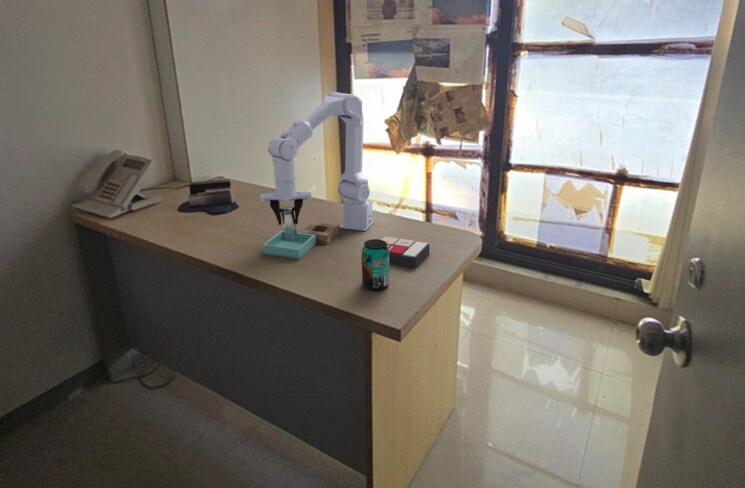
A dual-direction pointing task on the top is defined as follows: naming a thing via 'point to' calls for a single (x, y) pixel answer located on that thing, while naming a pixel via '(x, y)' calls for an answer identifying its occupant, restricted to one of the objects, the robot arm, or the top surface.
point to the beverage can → (375, 265)
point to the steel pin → (289, 221)
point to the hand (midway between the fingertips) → (288, 223)
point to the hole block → (322, 232)
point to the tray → (289, 245)
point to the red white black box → (406, 252)
